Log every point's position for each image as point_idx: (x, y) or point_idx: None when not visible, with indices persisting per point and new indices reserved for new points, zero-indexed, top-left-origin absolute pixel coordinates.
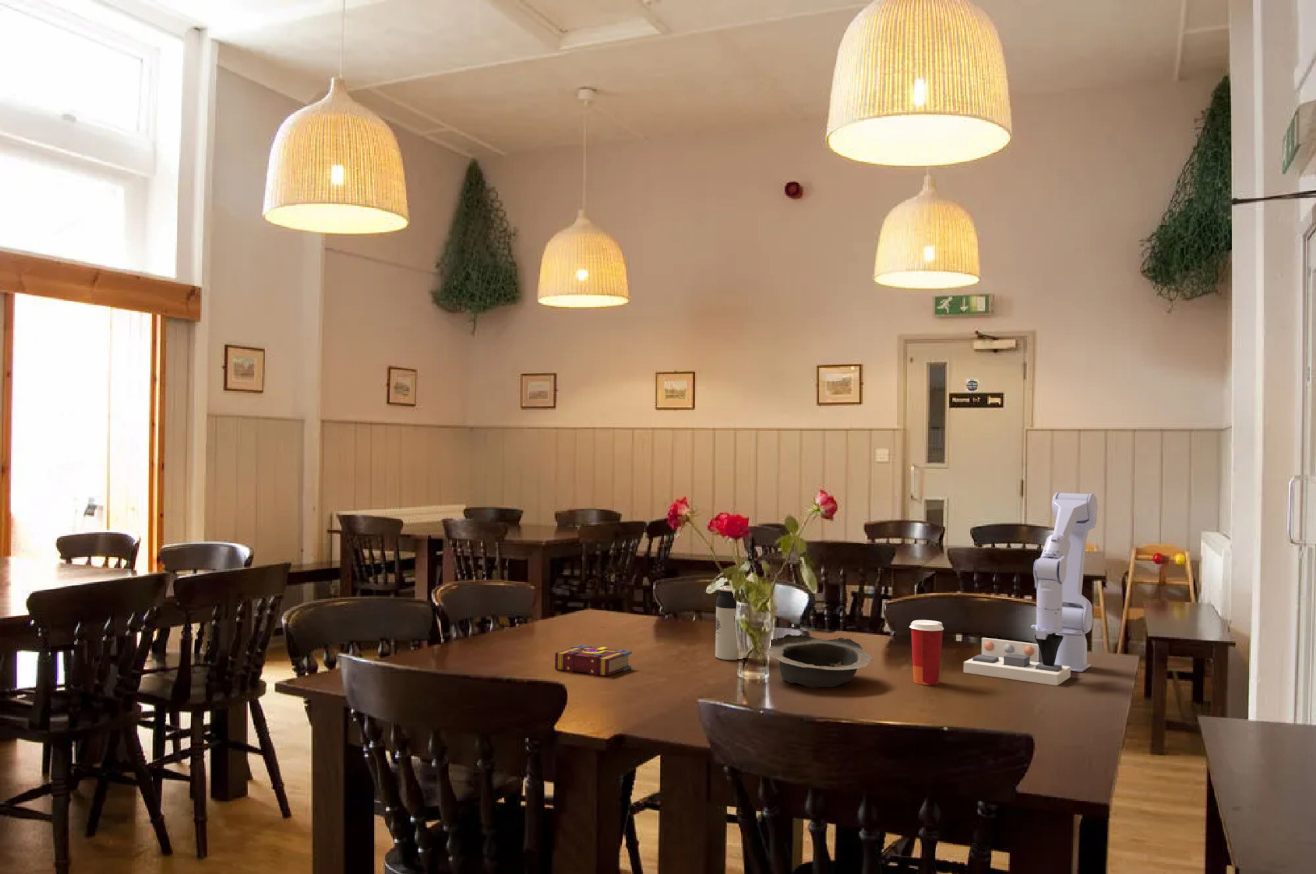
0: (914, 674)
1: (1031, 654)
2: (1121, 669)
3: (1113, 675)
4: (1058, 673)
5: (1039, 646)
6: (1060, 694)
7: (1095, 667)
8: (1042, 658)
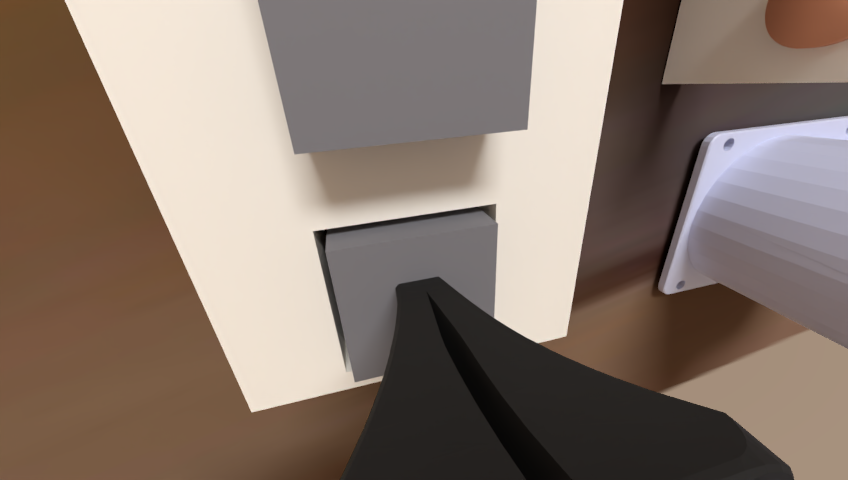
0: None
1: (779, 26)
2: (765, 340)
3: (654, 371)
4: (301, 397)
5: (372, 420)
6: (60, 459)
7: None
8: (397, 315)
